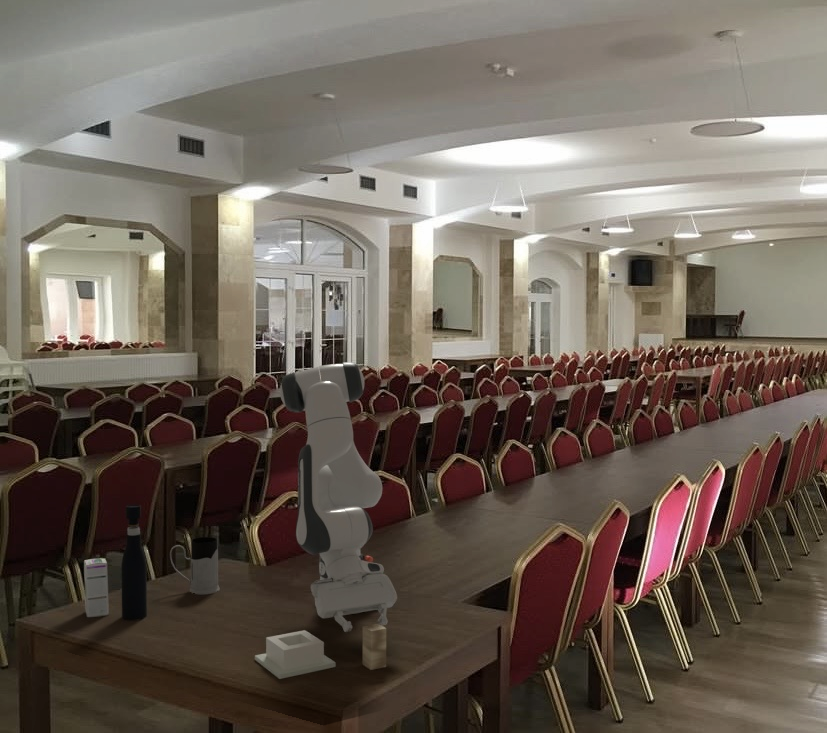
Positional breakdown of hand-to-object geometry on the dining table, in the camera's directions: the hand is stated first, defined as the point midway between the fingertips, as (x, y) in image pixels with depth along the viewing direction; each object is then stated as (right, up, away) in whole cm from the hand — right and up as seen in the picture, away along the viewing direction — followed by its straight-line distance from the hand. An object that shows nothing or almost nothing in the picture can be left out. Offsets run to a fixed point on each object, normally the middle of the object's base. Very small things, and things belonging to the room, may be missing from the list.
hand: (366, 627), depth 216 cm
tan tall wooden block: (+2, -8, -1) cm, 9 cm away
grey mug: (-54, -6, +58) cm, 79 cm away
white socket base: (-17, -8, 0) cm, 19 cm away
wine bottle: (-64, -7, +34) cm, 73 cm away
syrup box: (-75, -7, +36) cm, 84 cm away
